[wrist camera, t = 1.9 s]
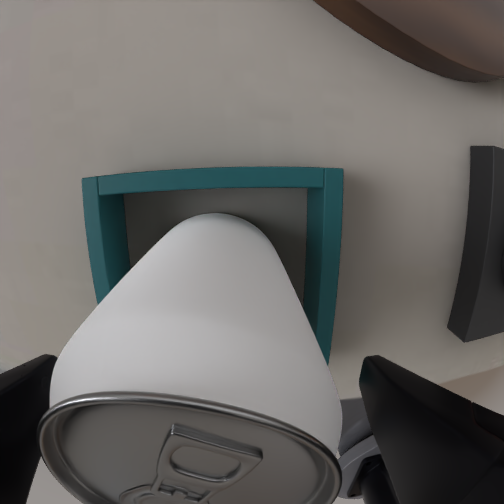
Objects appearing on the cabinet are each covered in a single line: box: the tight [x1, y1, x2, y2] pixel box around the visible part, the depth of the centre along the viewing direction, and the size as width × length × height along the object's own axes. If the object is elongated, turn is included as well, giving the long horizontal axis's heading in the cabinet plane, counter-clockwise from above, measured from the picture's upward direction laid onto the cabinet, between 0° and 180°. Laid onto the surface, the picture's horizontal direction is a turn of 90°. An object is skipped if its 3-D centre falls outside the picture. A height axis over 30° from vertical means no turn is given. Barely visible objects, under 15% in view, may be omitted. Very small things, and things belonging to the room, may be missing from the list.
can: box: [37, 213, 342, 504], centre depth 10 cm, size 6×6×12 cm
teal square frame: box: [82, 167, 343, 366], centre depth 14 cm, size 11×11×3 cm
